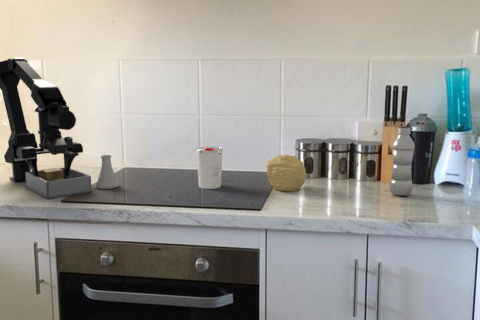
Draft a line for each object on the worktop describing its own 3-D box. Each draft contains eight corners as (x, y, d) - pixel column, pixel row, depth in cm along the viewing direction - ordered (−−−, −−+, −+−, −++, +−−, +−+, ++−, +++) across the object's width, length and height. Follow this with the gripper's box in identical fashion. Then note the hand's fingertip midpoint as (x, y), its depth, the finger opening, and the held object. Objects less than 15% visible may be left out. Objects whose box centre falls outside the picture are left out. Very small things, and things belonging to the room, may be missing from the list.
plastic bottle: (413, 193, 157) (417, 126, 153) (410, 199, 151) (414, 129, 147) (391, 191, 159) (394, 125, 156) (387, 196, 153) (390, 128, 150)
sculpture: (262, 191, 159) (262, 156, 158) (275, 183, 170) (275, 150, 168) (299, 195, 155) (300, 159, 153) (309, 186, 166) (310, 152, 164)
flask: (113, 190, 162) (112, 158, 160) (91, 189, 163) (89, 157, 161) (123, 185, 169) (121, 154, 167) (102, 184, 170) (100, 153, 168)
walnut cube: (47, 188, 161) (46, 172, 160) (41, 185, 165) (40, 169, 164) (63, 185, 164) (62, 170, 164) (57, 183, 168) (56, 167, 167)
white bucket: (189, 186, 166) (188, 148, 164) (207, 182, 173) (207, 145, 171) (212, 191, 160) (211, 152, 158) (230, 186, 166) (230, 148, 164)
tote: (26, 188, 164) (25, 172, 163) (67, 182, 172) (66, 167, 172) (47, 199, 150) (46, 182, 150) (91, 192, 159) (90, 175, 158)
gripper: (26, 132, 150) (30, 186, 152) (89, 127, 161) (91, 177, 164) (14, 128, 158) (18, 180, 161) (74, 124, 170) (77, 172, 173)
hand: (52, 177), depth 164 cm, fingers open, 9 cm apart
